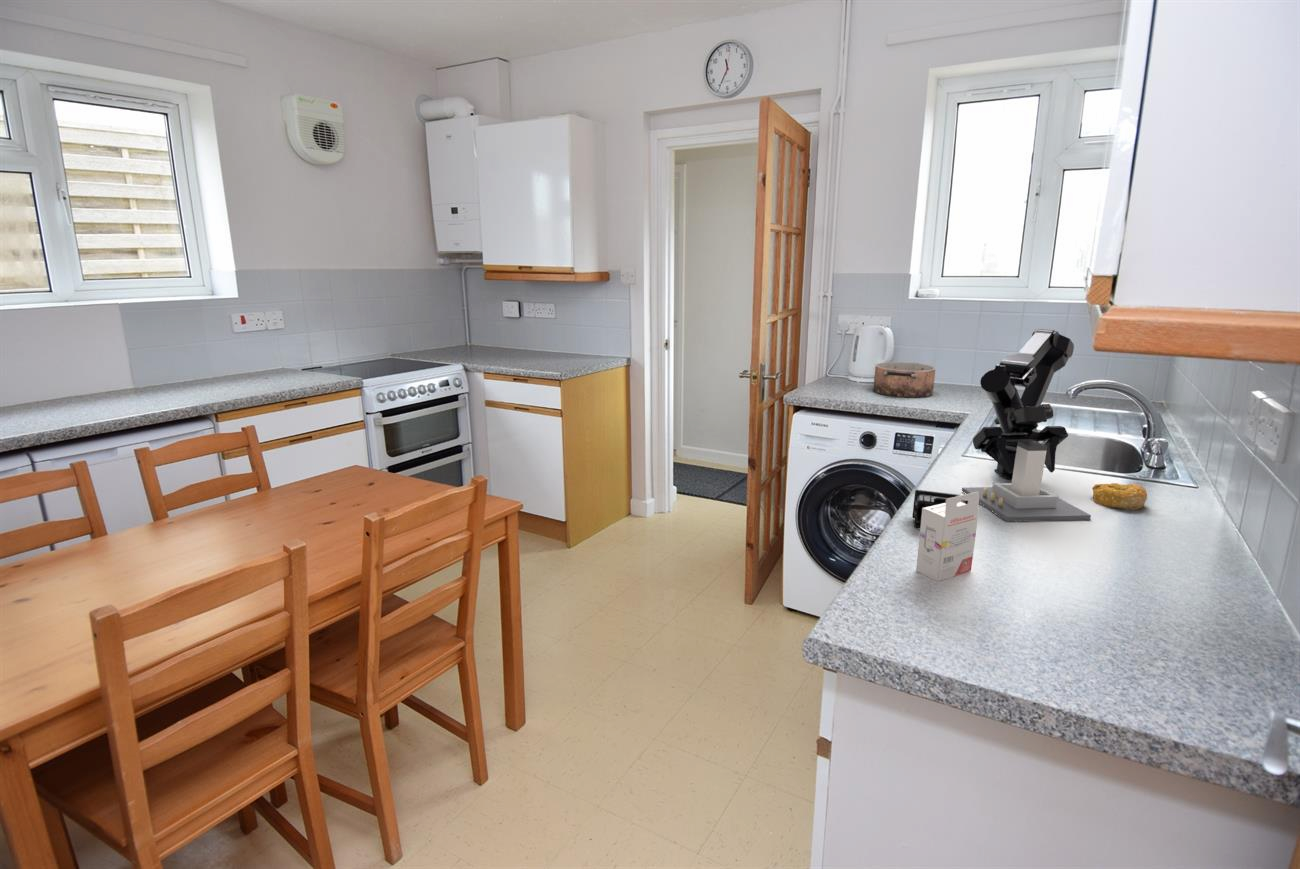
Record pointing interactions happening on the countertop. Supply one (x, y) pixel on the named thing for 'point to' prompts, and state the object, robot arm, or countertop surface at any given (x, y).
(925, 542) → the ink cartridge box
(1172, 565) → the countertop surface
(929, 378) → the cooking pot
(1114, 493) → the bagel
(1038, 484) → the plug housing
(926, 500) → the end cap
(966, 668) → the countertop surface
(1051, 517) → the header dock
